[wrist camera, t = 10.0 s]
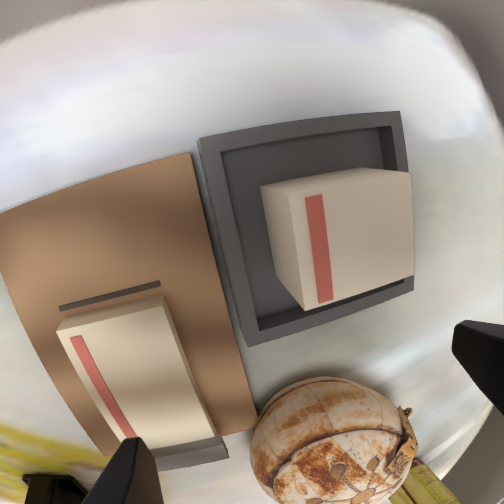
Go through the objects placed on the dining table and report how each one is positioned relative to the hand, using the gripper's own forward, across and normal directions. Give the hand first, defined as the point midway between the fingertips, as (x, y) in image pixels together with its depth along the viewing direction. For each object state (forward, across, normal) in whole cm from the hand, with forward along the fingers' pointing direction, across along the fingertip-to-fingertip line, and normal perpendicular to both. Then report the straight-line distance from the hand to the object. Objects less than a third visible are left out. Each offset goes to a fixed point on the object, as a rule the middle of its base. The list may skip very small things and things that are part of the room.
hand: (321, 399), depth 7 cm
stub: (+11, -5, -2) cm, 12 cm away
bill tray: (+11, -5, -2) cm, 12 cm away
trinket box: (+12, -4, +16) cm, 21 cm away
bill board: (+12, +7, +3) cm, 14 cm away
